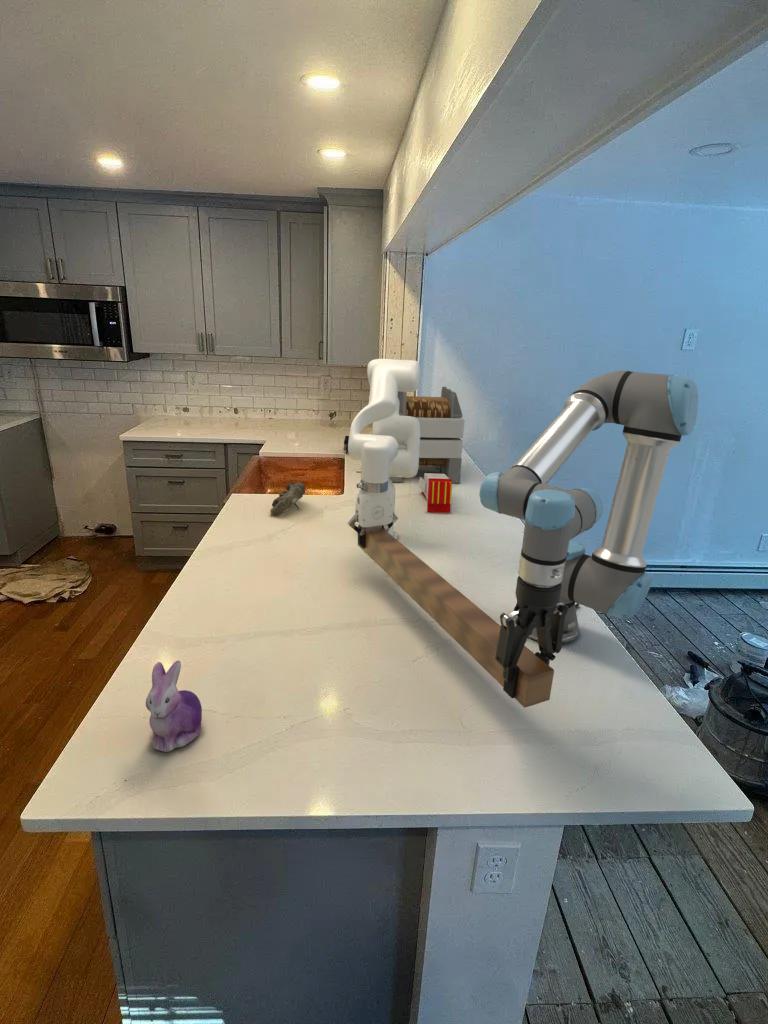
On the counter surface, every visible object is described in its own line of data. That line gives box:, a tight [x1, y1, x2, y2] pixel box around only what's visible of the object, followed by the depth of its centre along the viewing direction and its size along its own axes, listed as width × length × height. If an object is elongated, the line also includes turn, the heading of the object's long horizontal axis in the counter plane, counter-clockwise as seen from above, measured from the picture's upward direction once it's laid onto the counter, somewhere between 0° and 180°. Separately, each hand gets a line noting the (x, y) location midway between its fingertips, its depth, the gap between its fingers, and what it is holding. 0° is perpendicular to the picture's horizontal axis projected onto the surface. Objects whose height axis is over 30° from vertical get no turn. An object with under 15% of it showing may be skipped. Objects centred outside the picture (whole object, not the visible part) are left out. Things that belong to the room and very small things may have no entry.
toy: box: [418, 472, 453, 514], centre depth 233 cm, size 12×13×30 cm
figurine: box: [145, 660, 203, 753], centre depth 100 cm, size 9×10×15 cm
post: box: [357, 526, 555, 709], centre depth 135 cm, size 78×6×6 cm, turn 25°
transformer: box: [389, 386, 465, 484], centre depth 268 cm, size 34×33×41 cm
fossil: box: [270, 481, 307, 517], centre depth 218 cm, size 22×10×15 cm
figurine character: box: [343, 435, 349, 455], centre depth 308 cm, size 7×8×15 cm
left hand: (372, 544), depth 164 cm, fingers closed on post, 5 cm apart
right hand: (523, 689), depth 106 cm, fingers closed on post, 6 cm apart
